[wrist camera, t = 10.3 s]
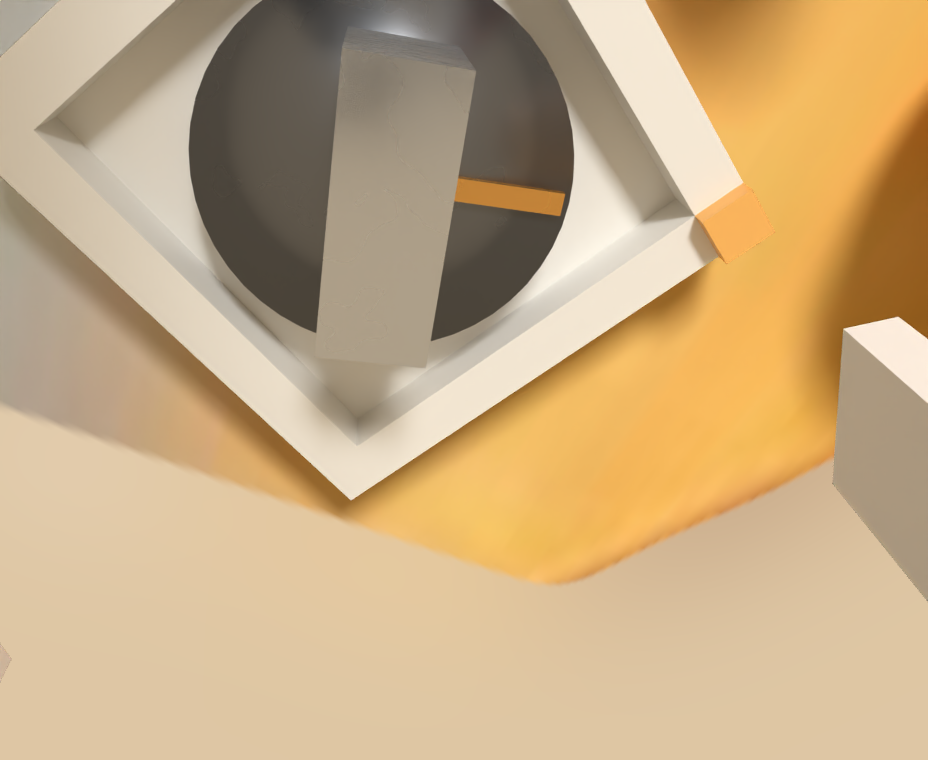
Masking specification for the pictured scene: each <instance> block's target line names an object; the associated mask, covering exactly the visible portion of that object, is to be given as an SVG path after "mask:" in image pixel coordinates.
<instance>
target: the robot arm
mask: <svg viewBox="0 0 928 760" xmlns="http://www.w3.org/2000/svg"><path fill="white" fill-rule="evenodd" d="M833 485H834V486H835V487H836V488H837V490H838V491H839V492H840V493H841V495H842V496H843V497H844V498H845V500H846V501H847V502H848V503H849V504H850V506H851V507H852V508H853V510H854V511H855V512H856V513H857V514H858V516H859V517H860V518H861V519H862V520H863V522H864V523H865V524H866V525H867V527H868V528H869V529H870V531H871V532H872V533H873V534H874V536H875V537H876V538H877V539H878V540H879V542H880V543H881V544H882V545H883V547H884V548H885V549H886V550H887V551H888V553H889V554H890V555H891V556H892V558H893V559H894V560H895V562H896V563H897V564H898V565H899V567H900V568H901V569H902V570H903V572H904V573H905V574H906V575H907V577H908V578H909V579H910V580H911V581H912V583H913V584H914V585H915V586H916V588H917V589H918V590H919V591H920V593H921V594H922V595H923V596H924V598H925V599H926V600H927V601H928V339H927V338H926V337H924V336H923V335H922V334H920V333H919V332H918V331H916V330H915V329H914V328H912V327H911V326H910V325H909V324H907V323H906V322H905V321H903V320H902V319H901V318H899V317H895V318H891V319H886V320H881V321H877V322H872V323H868V324H863V325H858V326H854V327H849V328H844V329H843V341H842V355H841V369H840V383H839V397H838V412H837V426H836V440H835V454H834V469H833ZM10 661H11V657H10V656H9V655H8V653H7V652H6V651H5V649H4V648H3V647H2V645H1V644H0V681H1V679H2V677H3V675H4V673H5V671H6V669H7V667H8V665H9V663H10Z"/></svg>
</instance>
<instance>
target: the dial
mask: <svg viewBox="0 0 928 760" xmlns="http://www.w3.org/2000/svg"><path fill="white" fill-rule="evenodd" d="M188 150H189V166H190V177H191V182H192V187H193V192H194V197H195V201H196V204H197V207H198V210H199V213H200V215H201V218H202V221H203V224H204V226H205V228H206V230H207V232H208V234H209V236H210V238H211V240H212V242H213V245H214V246H215V248H216V249H217V251H218V253H219V254H220V256H221V257H222V259H223V260H224V262H225V263H226V265H227V266H228V268H229V269H230V270H231V271H232V272H233V273H234V275H235V276H236V277H237V278H238V279H239V281H240V282H241V283H242V284H243V285H244V286H245V287H246V288H247V289H248V290H249V291H250V292H251V293H252V294H254V295H255V296H256V297H257V298H258V299H259V300H260V301H261V302H263V303H264V304H265V305H267V306H268V307H269V308H271V309H272V310H273V311H275V312H276V313H278V314H279V315H280V316H282V317H284V318H286V319H288V320H289V321H291V322H293V323H295V324H296V325H298V326H300V327H302V328H305V329H307V330H310V331H312V332H314V333H316V343H315V354H314V357H320V358H330V359H340V360H349V361H359V362H368V363H378V364H388V365H397V366H407V367H417V368H426V365H427V359H428V353H429V347H430V341H434V340H437V339H440V338H444V337H447V336H450V335H453V334H456V333H458V332H460V331H462V330H465V329H467V328H469V327H471V326H474V325H475V324H477V323H479V322H480V321H482V320H484V319H485V318H487V317H489V316H490V315H492V314H494V313H495V312H496V311H497V310H499V309H500V308H501V307H503V306H504V305H505V304H507V303H508V302H509V301H510V300H511V299H512V298H513V297H514V296H515V295H517V294H518V293H519V292H520V291H521V290H522V289H523V288H524V287H525V286H526V285H527V283H528V282H529V281H530V280H531V278H532V277H533V276H534V275H535V273H536V272H537V271H538V270H539V268H540V267H541V265H542V264H543V262H544V261H545V259H546V257H547V256H548V254H549V252H550V251H551V249H552V247H553V245H554V243H555V241H556V239H557V236H558V234H559V232H560V230H561V228H562V225H563V222H564V219H565V215H566V212H567V209H568V206H569V201H570V196H571V190H572V184H573V175H574V145H573V133H572V127H571V122H570V118H569V113H568V108H567V104H566V102H565V99H564V96H563V93H562V91H561V88H560V85H559V82H558V80H557V78H556V76H555V74H554V72H553V70H552V68H551V66H550V64H549V63H548V61H547V59H546V57H545V56H544V54H543V53H542V51H541V50H540V48H539V47H538V46H537V44H536V43H535V41H534V40H533V38H532V37H531V36H530V35H529V33H528V32H527V31H526V30H525V29H524V28H523V27H522V26H521V25H520V24H519V23H518V22H517V21H516V19H515V18H514V17H513V16H512V15H511V14H509V13H508V12H507V11H506V10H504V9H503V8H502V7H501V6H500V5H498V4H497V3H496V2H495V1H493V0H262V1H261V2H259V3H258V4H256V5H255V6H254V7H253V8H252V9H251V10H250V11H249V12H248V13H247V14H246V15H245V16H244V17H243V18H242V19H241V20H240V21H239V22H238V23H237V24H236V25H235V26H234V27H233V28H232V29H231V31H230V32H229V33H228V35H227V36H226V38H225V39H224V40H223V42H222V43H221V44H220V46H219V47H218V48H217V50H216V52H215V54H214V56H213V58H212V59H211V61H210V63H209V65H208V67H207V69H206V71H205V73H204V76H203V78H202V81H201V84H200V87H199V89H198V92H197V95H196V98H195V103H194V107H193V112H192V117H191V121H190V133H189V147H188Z"/></svg>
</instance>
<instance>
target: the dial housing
mask: <svg viewBox="0 0 928 760" xmlns="http://www.w3.org/2000/svg"><path fill="white" fill-rule="evenodd" d="M261 1H262V0H59V1H58V2H57V3H56V4H55V5H54V6H53V7H52V8H51V9H50V10H49V11H48V12H47V13H46V14H45V15H44V16H43V17H42V18H41V19H39V20H38V21H37V22H36V23H35V24H34V25H33V26H32V27H31V28H30V29H29V30H28V31H27V32H26V33H25V34H24V35H23V36H22V37H21V38H20V39H19V40H18V41H16V42H15V43H14V44H13V45H12V46H11V47H10V48H9V49H8V50H7V51H6V52H5V53H4V54H3V55H2V56H1V57H0V176H1V177H2V178H3V179H4V180H5V181H6V182H7V183H8V184H9V185H10V186H12V187H13V188H14V189H15V190H16V191H17V192H18V193H19V194H20V195H21V196H22V197H23V198H24V199H26V200H27V201H28V202H29V203H30V204H31V205H32V206H33V207H34V208H35V209H36V210H37V211H39V212H40V213H41V214H42V215H43V216H44V217H45V218H46V219H47V220H48V221H49V222H50V223H52V224H53V225H54V226H55V227H56V228H57V229H58V230H59V231H60V232H61V233H62V234H63V235H64V236H66V237H67V238H68V239H69V240H70V241H71V242H72V243H73V244H74V245H75V246H76V247H77V248H79V249H80V250H81V251H82V252H83V253H84V254H85V255H86V256H87V257H88V258H89V259H90V260H92V261H93V262H94V263H95V264H96V265H97V266H98V267H99V268H100V269H101V270H102V271H103V272H104V273H106V274H107V275H108V276H109V277H110V278H111V279H112V280H113V281H114V282H115V283H116V284H117V285H119V286H120V287H121V288H122V289H123V290H124V291H125V292H126V293H127V294H128V295H129V296H130V297H132V298H133V299H134V300H135V301H136V302H137V303H138V304H139V305H140V306H141V307H142V308H143V309H144V310H146V311H147V312H148V313H149V314H150V315H151V316H152V317H153V318H154V319H155V320H156V321H157V322H159V323H160V324H161V325H162V326H163V327H164V328H165V329H166V330H167V331H168V332H169V333H170V334H172V335H173V336H174V337H175V338H176V339H177V340H178V341H179V342H180V343H181V344H182V345H183V346H184V347H186V348H187V349H188V350H189V351H190V352H191V353H192V354H193V355H194V356H195V357H196V358H197V359H199V360H200V361H201V362H202V363H203V364H204V365H205V366H206V367H207V368H208V369H209V370H210V371H212V372H213V373H214V374H215V375H216V376H217V377H218V378H219V379H220V380H221V381H222V382H223V383H224V384H226V385H227V386H228V387H229V388H230V389H231V390H232V391H233V392H234V393H235V394H236V395H237V396H239V397H240V398H241V399H242V400H243V401H244V402H245V403H246V404H247V405H248V406H249V407H250V408H252V409H253V410H254V411H255V412H256V413H257V414H258V415H259V416H260V417H261V418H262V419H263V420H265V421H266V422H267V423H268V424H269V425H270V426H271V427H272V428H273V429H274V430H275V431H276V432H277V433H279V434H280V435H281V436H282V437H283V438H284V439H285V440H286V441H287V442H288V443H289V444H290V445H292V446H293V447H294V448H295V449H296V450H297V451H298V452H299V453H300V454H301V455H302V456H303V457H305V458H306V459H307V460H308V461H309V462H310V463H311V464H312V465H313V466H314V467H315V468H316V469H317V470H319V471H320V472H321V473H322V474H323V475H324V476H325V477H326V478H327V479H328V480H329V481H330V482H332V483H333V484H334V485H335V486H336V487H337V488H338V489H339V490H340V491H341V492H342V493H343V494H345V495H346V496H347V497H348V498H349V499H350V500H352V499H354V498H355V497H357V496H358V495H360V494H361V493H363V492H364V491H366V490H367V489H369V488H370V487H372V486H373V485H375V484H376V483H378V482H380V481H381V480H383V479H384V478H386V477H387V476H389V475H390V474H392V473H393V472H395V471H396V470H398V469H399V468H401V467H402V466H404V465H405V464H407V463H408V462H410V461H411V460H413V459H414V458H416V457H417V456H419V455H420V454H422V453H423V452H425V451H426V450H428V449H429V448H431V447H432V446H434V445H435V444H437V443H438V442H440V441H441V440H443V439H444V438H446V437H447V436H449V435H450V434H452V433H453V432H455V431H456V430H458V429H459V428H461V427H462V426H464V425H465V424H467V423H468V422H470V421H471V420H473V419H474V418H476V417H477V416H479V415H480V414H482V413H483V412H485V411H486V410H488V409H489V408H491V407H492V406H494V405H496V404H497V403H499V402H500V401H502V400H503V399H505V398H506V397H508V396H509V395H511V394H512V393H514V392H515V391H517V390H518V389H520V388H521V387H523V386H524V385H526V384H527V383H529V382H530V381H532V380H533V379H535V378H536V377H538V376H539V375H541V374H542V373H544V372H545V371H547V370H548V369H550V368H551V367H553V366H554V365H556V364H557V363H559V362H560V361H562V360H563V359H565V358H566V357H568V356H569V355H571V354H572V353H574V352H575V351H577V350H578V349H580V348H581V347H583V346H584V345H586V344H587V343H589V342H590V341H592V340H593V339H595V338H596V337H598V336H599V335H601V334H602V333H604V332H605V331H607V330H608V329H610V328H611V327H613V326H615V325H616V324H618V323H619V322H621V321H622V320H624V319H625V318H627V317H628V316H630V315H631V314H633V313H634V312H636V311H637V310H639V309H640V308H642V307H643V306H645V305H646V304H648V303H649V302H651V301H652V300H654V299H655V298H657V297H658V296H660V295H661V294H663V293H664V292H666V291H667V290H669V289H670V288H672V287H673V286H675V285H676V284H678V283H679V282H681V281H682V280H684V279H685V278H687V277H688V276H690V275H691V274H693V273H694V272H696V271H697V270H699V269H700V268H702V267H703V266H705V265H706V264H708V263H709V262H711V261H712V260H714V259H715V258H717V257H718V256H719V257H720V258H721V259H722V260H723V261H724V262H725V263H726V264H728V263H729V262H731V261H732V260H734V259H735V258H737V257H739V256H740V255H742V254H743V253H745V252H746V251H748V250H749V249H751V248H752V247H754V246H755V245H757V244H758V243H760V242H761V241H763V240H764V239H766V238H767V237H769V236H770V235H772V234H773V233H775V231H774V229H773V227H772V225H771V223H770V221H769V219H768V218H767V216H766V214H765V212H764V210H763V208H762V206H761V204H760V203H759V201H758V199H757V197H756V195H755V193H754V191H753V190H752V189H751V188H750V187H748V186H747V185H746V184H744V183H743V182H742V180H741V178H740V176H739V174H738V172H737V170H736V169H735V167H734V165H733V163H732V161H731V159H730V157H729V156H728V154H727V152H726V150H725V148H724V146H723V144H722V143H721V141H720V139H719V137H718V135H717V133H716V131H715V130H714V128H713V126H712V124H711V122H710V120H709V118H708V117H707V115H706V113H705V111H704V109H703V107H702V105H701V104H700V102H699V100H698V98H697V96H696V94H695V92H694V91H693V89H692V87H691V85H690V83H689V81H688V79H687V78H686V76H685V74H684V72H683V70H682V68H681V66H680V65H679V63H678V61H677V59H676V57H675V55H674V53H673V52H672V50H671V48H670V46H669V44H668V42H667V40H666V39H665V37H664V35H663V33H662V31H661V29H660V27H659V26H658V24H657V22H656V20H655V18H654V16H653V14H652V13H651V11H650V9H649V7H648V5H647V3H646V1H645V0H493V1H495V2H496V3H497V4H498V5H500V6H501V7H502V8H503V9H504V10H506V11H507V12H508V13H509V14H511V15H512V16H513V17H514V18H515V19H516V21H517V22H518V23H519V24H520V25H521V26H522V27H523V28H524V29H525V30H526V31H527V32H528V33H529V35H530V36H531V37H532V38H533V40H534V41H535V43H536V44H537V46H538V47H539V48H540V50H541V51H542V53H543V54H544V56H545V57H546V59H547V61H548V63H549V64H550V66H551V68H552V70H553V72H554V74H555V76H556V78H557V80H558V82H559V85H560V88H561V91H562V93H563V96H564V99H565V102H566V104H567V108H568V113H569V118H570V122H571V127H572V133H573V145H574V175H573V184H572V190H571V196H570V201H569V206H568V209H567V212H566V215H565V219H564V222H563V225H562V228H561V230H560V232H559V234H558V236H557V239H556V241H555V243H554V245H553V247H552V249H551V251H550V252H549V254H548V256H547V257H546V259H545V261H544V262H543V264H542V265H541V267H540V268H539V270H538V271H537V272H536V273H535V275H534V276H533V277H532V278H531V280H530V281H529V282H528V283H527V285H526V286H525V287H524V288H523V289H522V290H521V291H520V292H519V293H518V294H517V295H515V296H514V297H513V298H512V299H511V300H510V301H509V302H508V303H507V304H505V305H504V306H503V307H501V308H500V309H499V310H497V311H496V312H495V313H494V314H492V315H490V316H489V317H487V318H485V319H484V320H482V321H480V322H479V323H477V324H475V325H474V326H471V327H469V328H467V329H465V330H462V331H460V332H458V333H456V334H453V335H450V336H447V337H444V338H440V339H437V340H434V341H430V347H429V353H428V359H427V365H426V368H417V367H407V366H397V365H388V364H378V363H368V362H359V361H349V360H340V359H330V358H320V357H314V354H315V343H316V333H314V332H312V331H310V330H307V329H305V328H302V327H300V326H298V325H296V324H295V323H293V322H291V321H289V320H288V319H286V318H284V317H282V316H280V315H279V314H278V313H276V312H275V311H273V310H272V309H271V308H269V307H268V306H267V305H265V304H264V303H263V302H261V301H260V300H259V299H258V298H257V297H256V296H255V295H254V294H252V293H251V292H250V291H249V290H248V289H247V288H246V287H245V286H244V285H243V284H242V283H241V282H240V281H239V279H238V278H237V277H236V276H235V275H234V273H233V272H232V271H231V270H230V269H229V268H228V266H227V265H226V263H225V262H224V260H223V259H222V257H221V256H220V254H219V253H218V251H217V249H216V248H215V246H214V245H213V242H212V240H211V238H210V236H209V234H208V232H207V230H206V228H205V226H204V224H203V221H202V218H201V215H200V213H199V210H198V207H197V204H196V201H195V197H194V192H193V187H192V182H191V177H190V166H189V150H188V147H189V133H190V121H191V117H192V112H193V107H194V103H195V98H196V95H197V92H198V89H199V87H200V84H201V81H202V78H203V76H204V73H205V71H206V69H207V67H208V65H209V63H210V61H211V59H212V58H213V56H214V54H215V52H216V50H217V48H218V47H219V46H220V44H221V43H222V42H223V40H224V39H225V38H226V36H227V35H228V33H229V32H230V31H231V29H232V28H233V27H234V26H235V25H236V24H237V23H238V22H239V21H240V20H241V19H242V18H243V17H244V16H245V15H246V14H247V13H248V12H249V11H250V10H251V9H252V8H253V7H254V6H255V5H256V4H258V3H259V2H261Z"/></svg>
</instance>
